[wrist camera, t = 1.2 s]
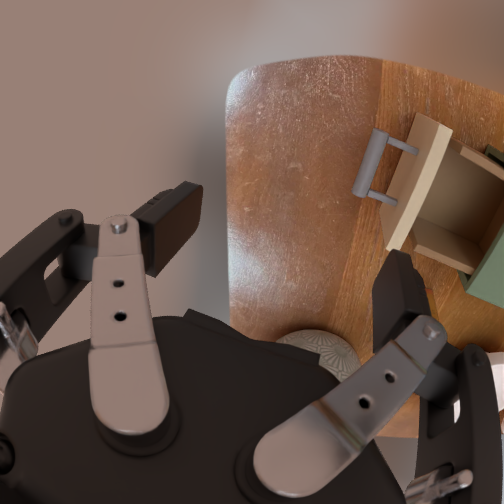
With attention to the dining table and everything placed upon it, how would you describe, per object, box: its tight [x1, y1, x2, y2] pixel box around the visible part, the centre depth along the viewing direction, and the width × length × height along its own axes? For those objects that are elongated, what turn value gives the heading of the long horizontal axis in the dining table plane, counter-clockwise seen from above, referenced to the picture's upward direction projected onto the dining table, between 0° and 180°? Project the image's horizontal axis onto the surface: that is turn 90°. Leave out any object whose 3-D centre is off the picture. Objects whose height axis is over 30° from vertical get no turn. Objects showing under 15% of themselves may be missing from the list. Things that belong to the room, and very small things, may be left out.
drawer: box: [351, 112, 504, 276], centre depth 23 cm, size 18×11×8 cm, turn 78°
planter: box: [275, 330, 361, 383], centre depth 39 cm, size 17×17×15 cm
